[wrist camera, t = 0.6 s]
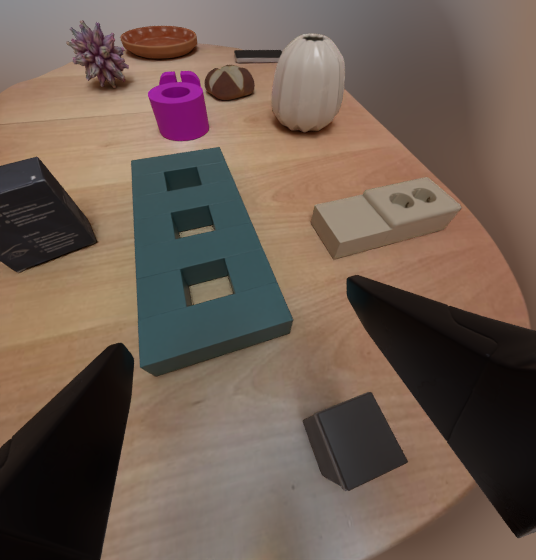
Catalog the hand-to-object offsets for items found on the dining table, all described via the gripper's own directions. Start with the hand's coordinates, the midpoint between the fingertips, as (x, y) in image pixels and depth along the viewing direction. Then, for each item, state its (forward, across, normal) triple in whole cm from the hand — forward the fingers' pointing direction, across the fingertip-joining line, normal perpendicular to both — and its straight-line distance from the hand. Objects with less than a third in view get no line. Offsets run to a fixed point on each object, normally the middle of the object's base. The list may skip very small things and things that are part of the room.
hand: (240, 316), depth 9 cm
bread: (+70, -8, -13) cm, 71 cm away
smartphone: (+92, -22, -22) cm, 97 cm away
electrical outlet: (+22, -20, +10) cm, 32 cm away
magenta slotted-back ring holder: (+57, +4, -9) cm, 57 cm away
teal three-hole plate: (+24, +5, +6) cm, 26 cm away
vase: (+52, -21, -4) cm, 56 cm away
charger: (+2, -4, +17) cm, 18 cm away
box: (+27, +23, +2) cm, 36 cm away
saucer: (+104, +7, -30) cm, 108 cm away
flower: (+78, +20, -20) cm, 83 cm away
